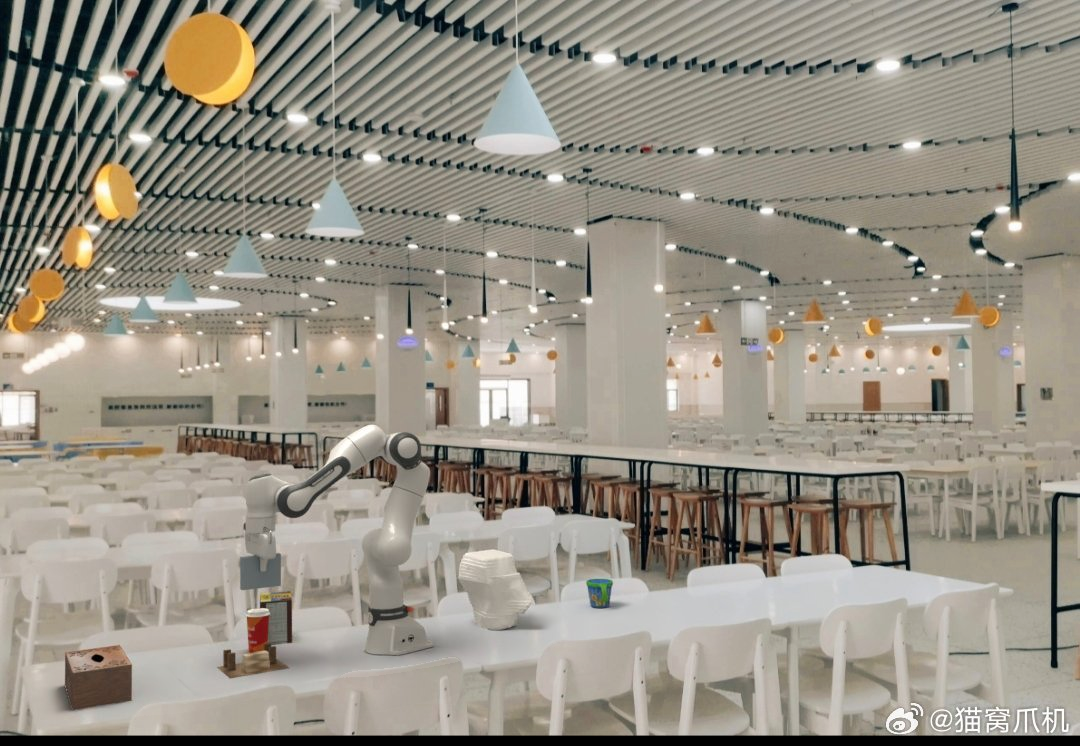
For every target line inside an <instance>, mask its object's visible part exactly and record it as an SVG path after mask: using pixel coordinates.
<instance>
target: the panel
mask: <svg viewBox="0 0 1080 746" xmlns="http://www.w3.org/2000/svg"><path fill="white" fill-rule="evenodd" d="M239 557H240V559H239V561H240V562H239V563H240V565H239V574H240V575H239V578H240V579H239V580H240V581H239V582H240V584H239V585H240V586H239V589H240V590H241V591H248V590H249V591H250V590H255V589H256V590H257V589H263V588H264V589H265V588H273V587H281V586H282V577H281V576H282V563H281V562H282V554H281V553H280V552H276V557H275V558H274V559H268V561H267V565H266V571H263V572H261V571H260V570H259V566H260V557H258V556H255V555H246V556H244V555H243V556H239Z"/></svg>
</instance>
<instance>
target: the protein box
mask: <svg viewBox="0 0 1080 746" xmlns="http://www.w3.org/2000/svg"><path fill="white" fill-rule="evenodd" d="M260 608H265V609H269V612H270V615H269V628H268V643H271V646H276V645H284V644H293V597H292V593H291V591H288V590H287V591H278V592H276V591H275V592H263V593H262V592H261V593H259V609H260Z"/></svg>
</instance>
